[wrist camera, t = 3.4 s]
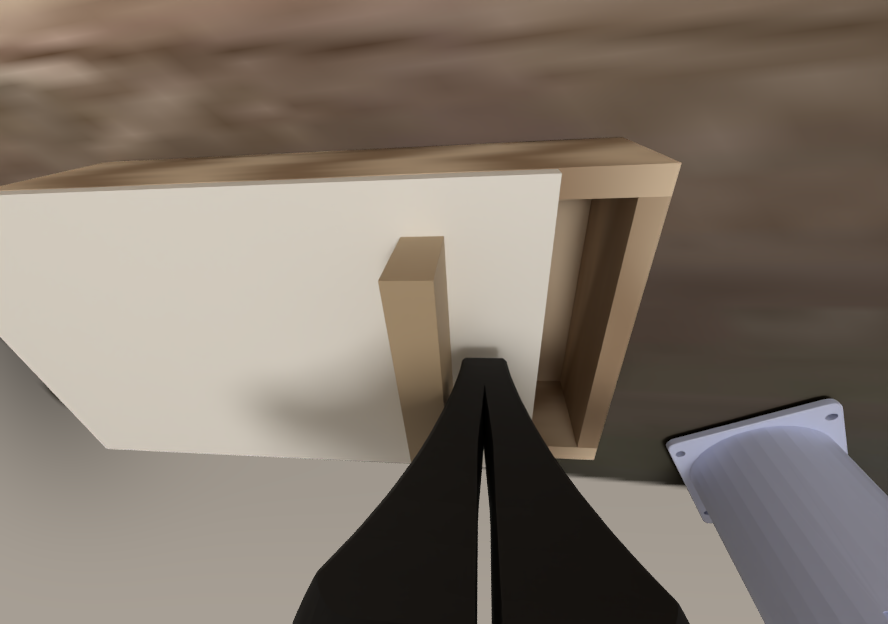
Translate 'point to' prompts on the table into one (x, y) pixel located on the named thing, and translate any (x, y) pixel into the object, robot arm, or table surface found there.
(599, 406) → the mailer box
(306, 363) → the mailer lid
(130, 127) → the table surface
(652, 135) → the table surface
